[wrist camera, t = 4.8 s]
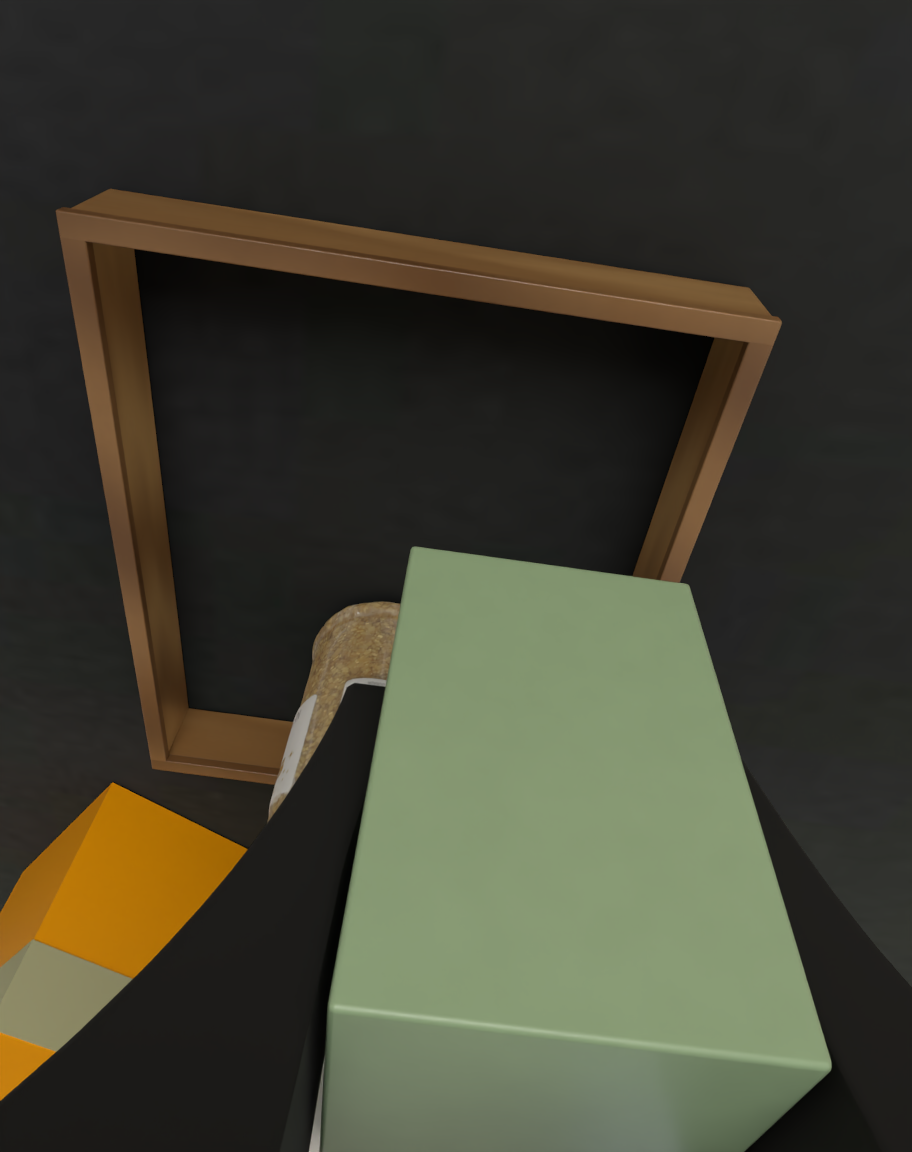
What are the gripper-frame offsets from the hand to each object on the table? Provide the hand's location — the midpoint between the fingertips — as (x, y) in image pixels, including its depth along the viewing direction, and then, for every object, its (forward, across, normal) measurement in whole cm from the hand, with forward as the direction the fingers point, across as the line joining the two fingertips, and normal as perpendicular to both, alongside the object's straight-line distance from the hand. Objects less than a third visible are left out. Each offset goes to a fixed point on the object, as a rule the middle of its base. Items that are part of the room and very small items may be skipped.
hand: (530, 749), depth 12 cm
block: (+2, 0, 0) cm, 2 cm away
